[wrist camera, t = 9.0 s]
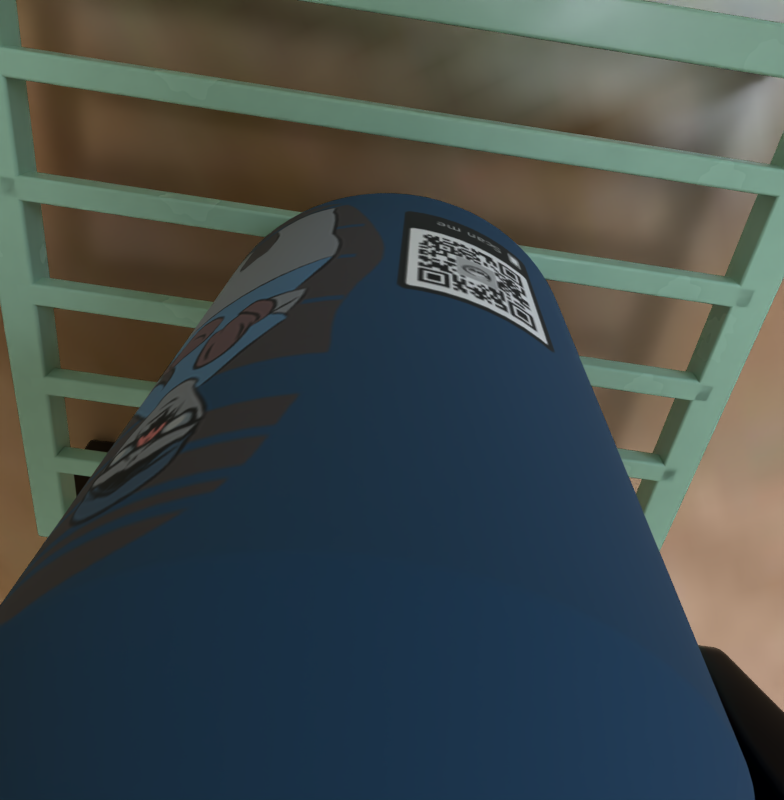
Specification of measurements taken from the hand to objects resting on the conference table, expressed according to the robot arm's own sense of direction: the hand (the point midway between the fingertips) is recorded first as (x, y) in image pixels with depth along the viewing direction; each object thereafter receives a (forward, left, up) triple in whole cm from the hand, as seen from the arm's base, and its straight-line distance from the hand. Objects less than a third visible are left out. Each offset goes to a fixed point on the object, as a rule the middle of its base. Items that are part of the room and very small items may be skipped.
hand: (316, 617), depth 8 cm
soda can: (-1, 0, -8) cm, 8 cm away
